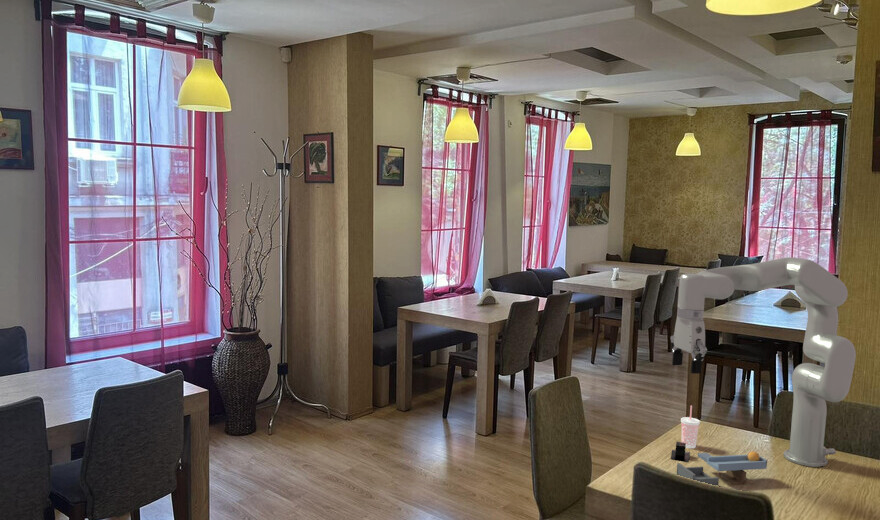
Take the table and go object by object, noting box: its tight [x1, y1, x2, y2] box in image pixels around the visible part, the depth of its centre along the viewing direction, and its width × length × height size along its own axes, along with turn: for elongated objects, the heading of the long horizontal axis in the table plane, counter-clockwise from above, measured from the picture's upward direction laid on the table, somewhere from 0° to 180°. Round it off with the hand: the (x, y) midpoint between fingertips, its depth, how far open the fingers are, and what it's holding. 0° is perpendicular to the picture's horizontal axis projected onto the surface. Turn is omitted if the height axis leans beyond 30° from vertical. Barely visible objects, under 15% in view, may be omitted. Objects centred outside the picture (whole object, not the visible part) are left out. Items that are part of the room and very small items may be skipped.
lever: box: [697, 452, 768, 472], centre depth 204 cm, size 16×11×3 cm
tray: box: [676, 462, 720, 486], centre depth 199 cm, size 8×8×4 cm
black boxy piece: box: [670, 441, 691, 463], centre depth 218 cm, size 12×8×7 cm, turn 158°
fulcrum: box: [719, 470, 753, 486], centre depth 201 cm, size 6×7×4 cm
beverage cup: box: [680, 405, 701, 449], centre depth 227 cm, size 6×6×14 cm
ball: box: [747, 451, 760, 462], centre depth 202 cm, size 3×3×3 cm
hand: (686, 369), depth 207 cm, fingers open, 9 cm apart
